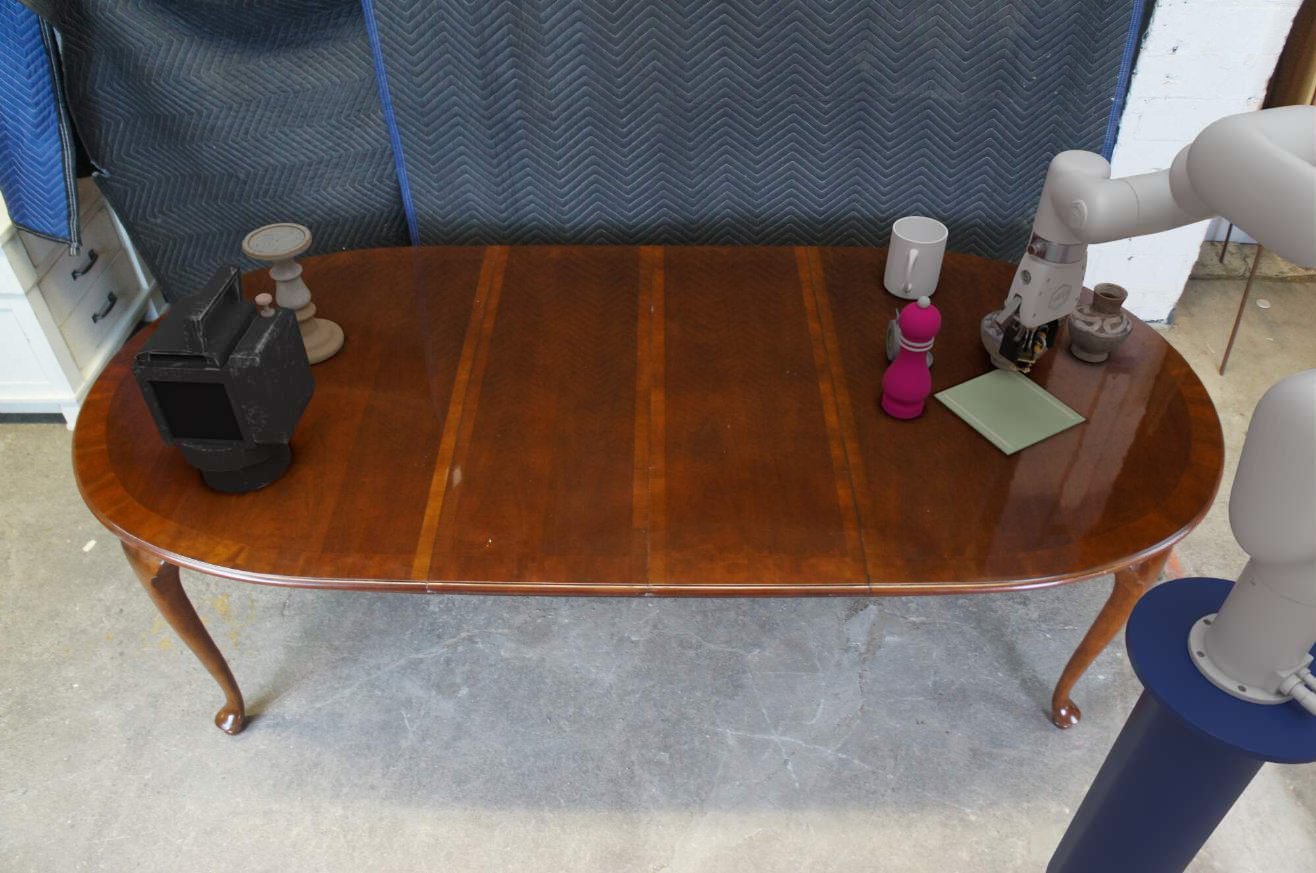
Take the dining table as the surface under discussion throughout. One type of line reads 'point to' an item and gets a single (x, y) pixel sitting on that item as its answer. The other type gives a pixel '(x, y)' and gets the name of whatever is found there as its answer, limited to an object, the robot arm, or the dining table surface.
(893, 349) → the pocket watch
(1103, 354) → the pottery
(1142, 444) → the dining table surface
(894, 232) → the mug
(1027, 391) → the napkin
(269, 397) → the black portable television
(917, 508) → the dining table surface
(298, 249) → the candle holder
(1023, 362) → the figurine
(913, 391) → the pepper mill
